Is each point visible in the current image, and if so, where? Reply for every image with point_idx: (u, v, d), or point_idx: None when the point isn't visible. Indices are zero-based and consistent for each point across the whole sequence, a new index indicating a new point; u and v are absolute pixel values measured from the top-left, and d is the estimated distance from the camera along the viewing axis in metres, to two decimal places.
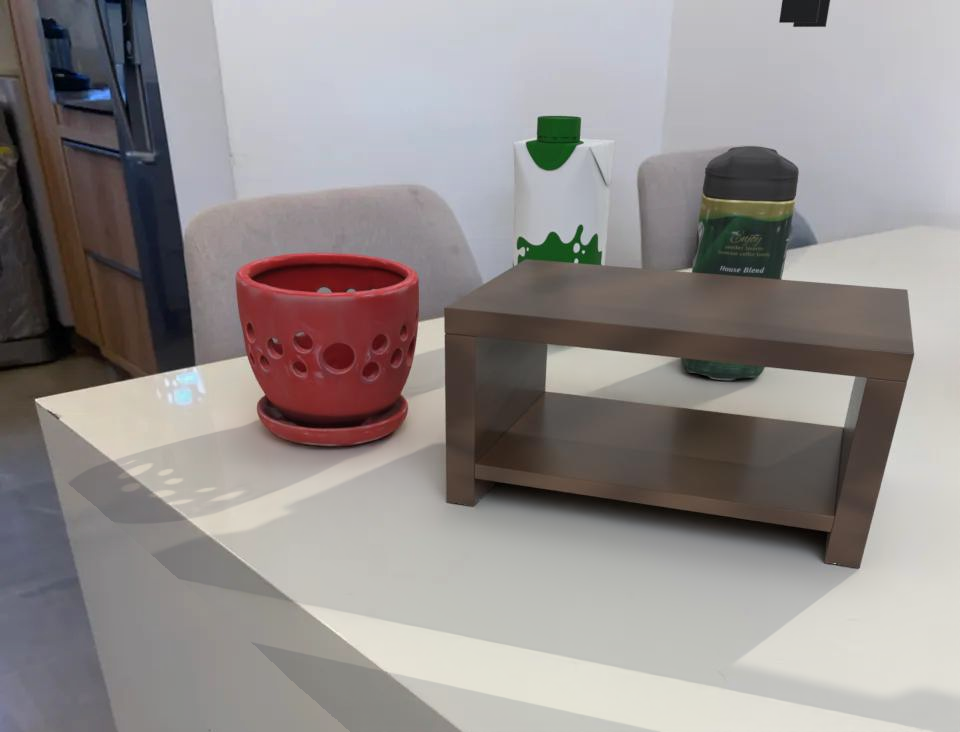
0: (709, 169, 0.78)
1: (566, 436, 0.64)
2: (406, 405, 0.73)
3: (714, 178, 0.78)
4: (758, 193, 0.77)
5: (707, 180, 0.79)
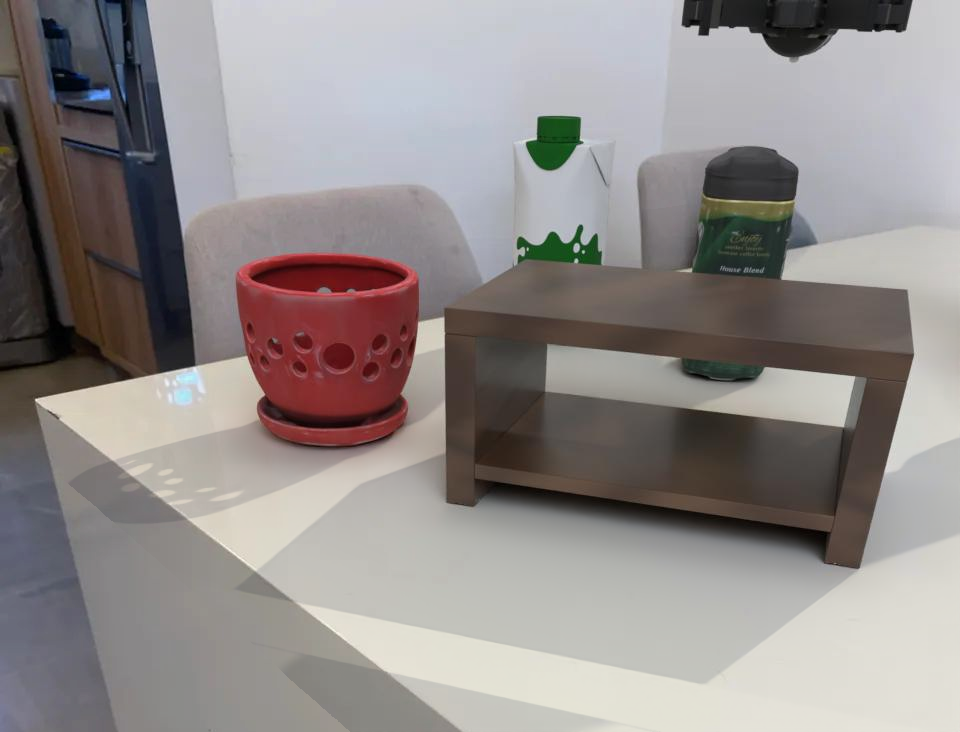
0: (709, 169, 0.78)
1: (566, 436, 0.64)
2: (406, 405, 0.73)
3: (714, 178, 0.78)
4: (758, 193, 0.77)
5: (707, 180, 0.79)
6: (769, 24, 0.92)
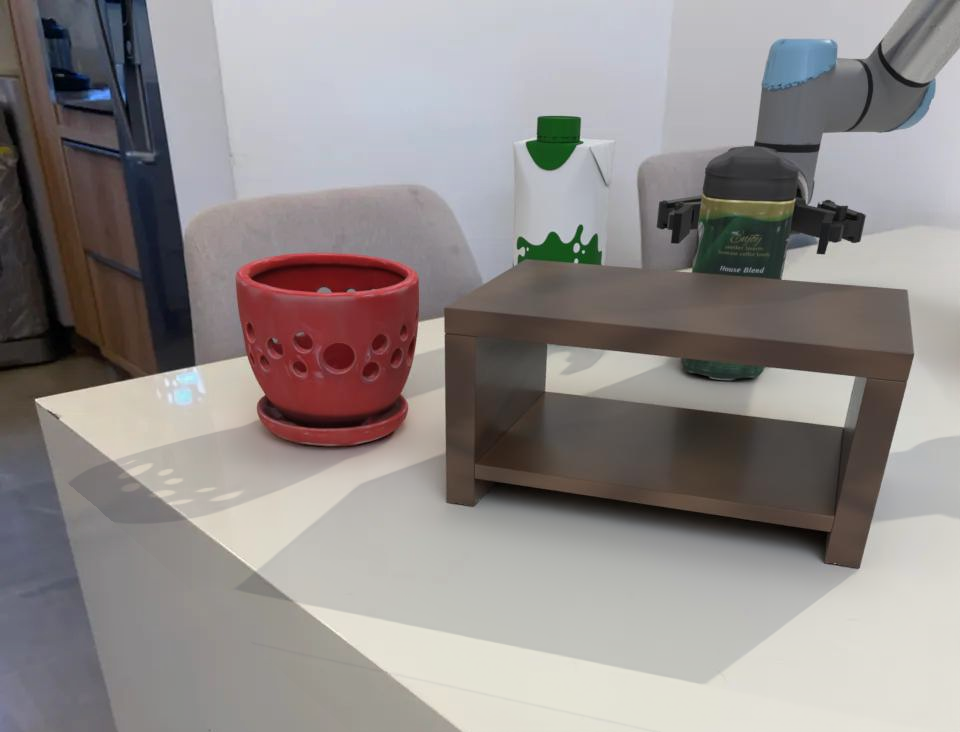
0: (709, 169, 0.78)
1: (566, 436, 0.64)
2: (406, 405, 0.73)
3: (714, 178, 0.78)
4: (758, 193, 0.77)
5: (707, 180, 0.79)
6: None
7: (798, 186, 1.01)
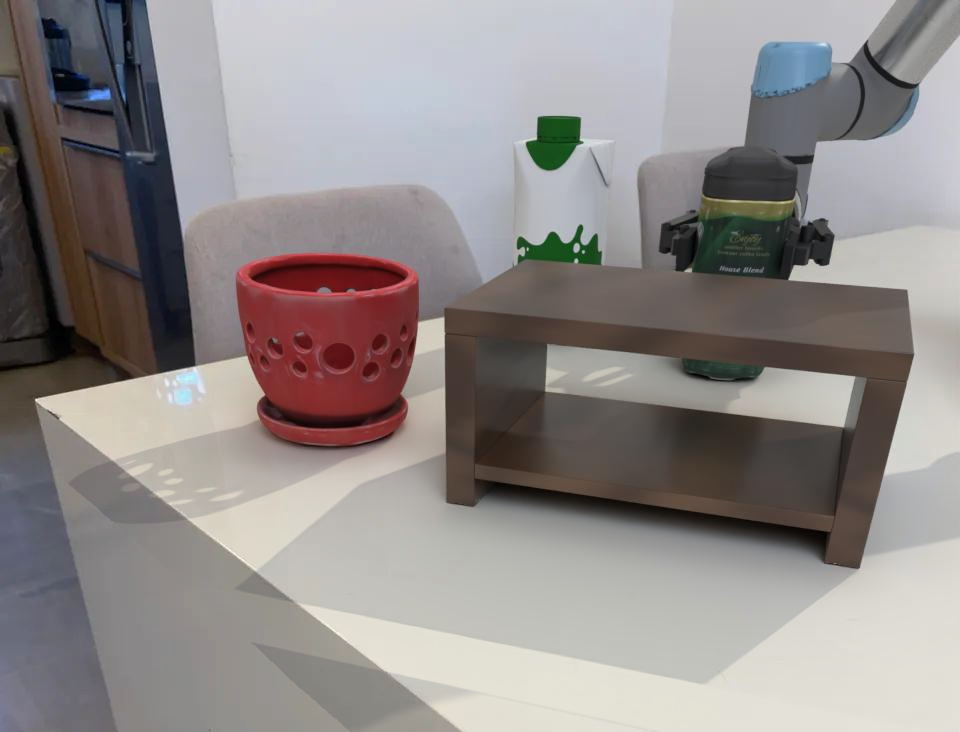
0: (708, 169, 0.78)
1: (566, 436, 0.64)
2: (406, 405, 0.73)
3: (713, 178, 0.78)
4: (758, 193, 0.77)
5: (706, 180, 0.79)
6: None
7: None
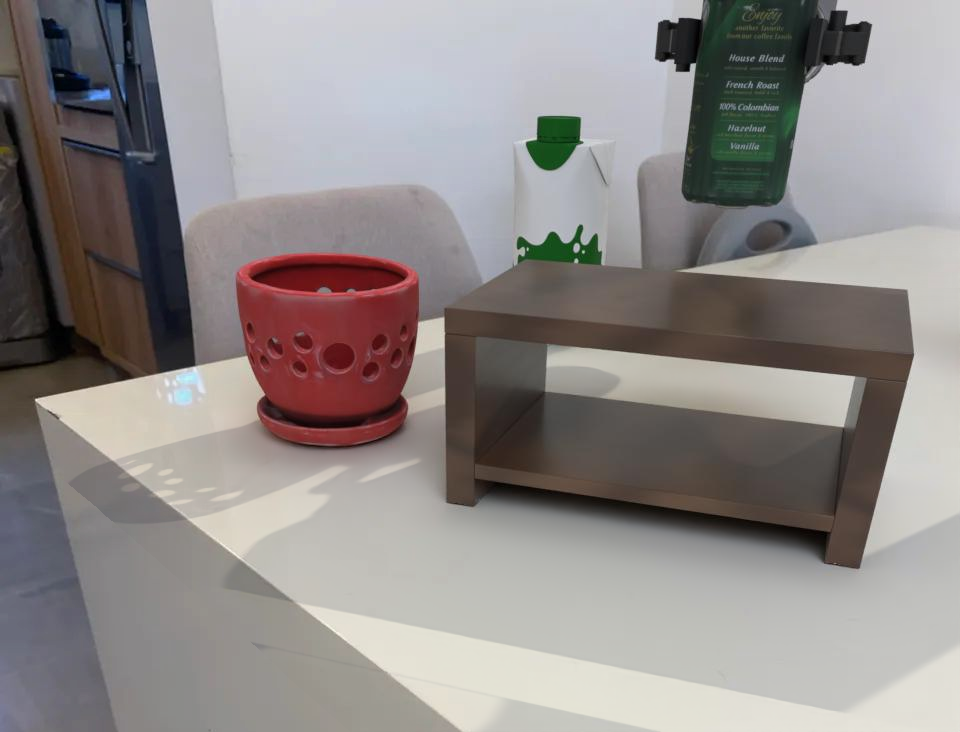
0: None
1: (566, 436, 0.64)
2: (406, 405, 0.73)
3: None
4: None
5: None
6: None
7: None
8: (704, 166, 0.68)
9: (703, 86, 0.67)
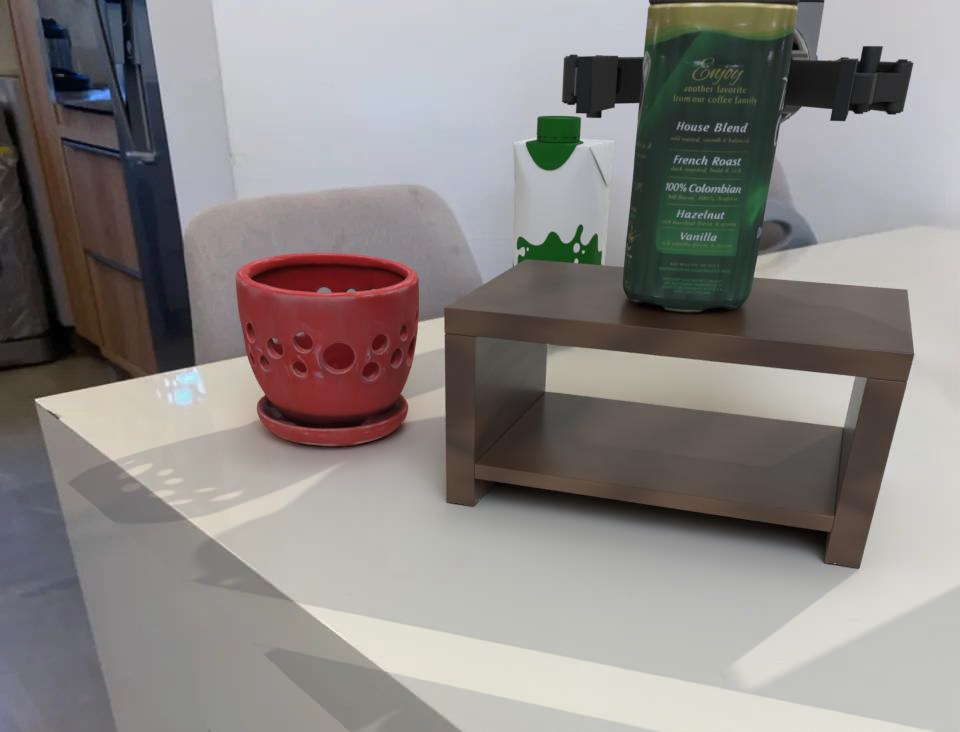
0: None
1: (566, 436, 0.64)
2: (406, 405, 0.73)
3: None
4: None
5: None
6: None
7: (795, 39, 0.62)
8: (647, 260, 0.54)
9: (644, 160, 0.52)
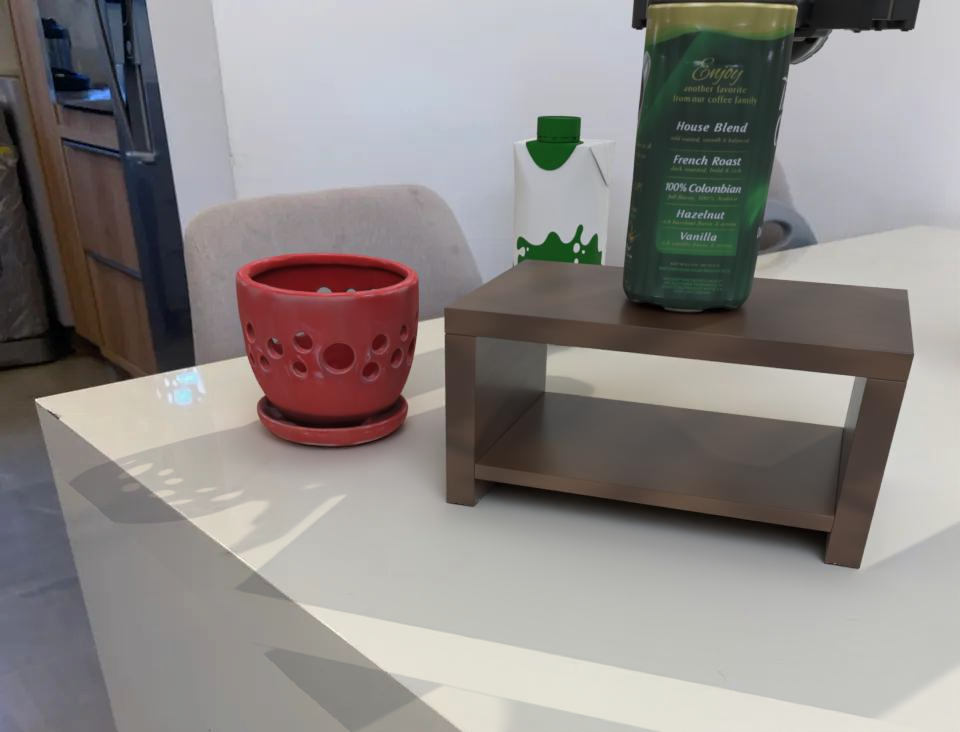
0: None
1: (566, 436, 0.64)
2: (406, 405, 0.73)
3: None
4: None
5: None
6: None
7: None
8: (647, 260, 0.54)
9: (644, 160, 0.52)
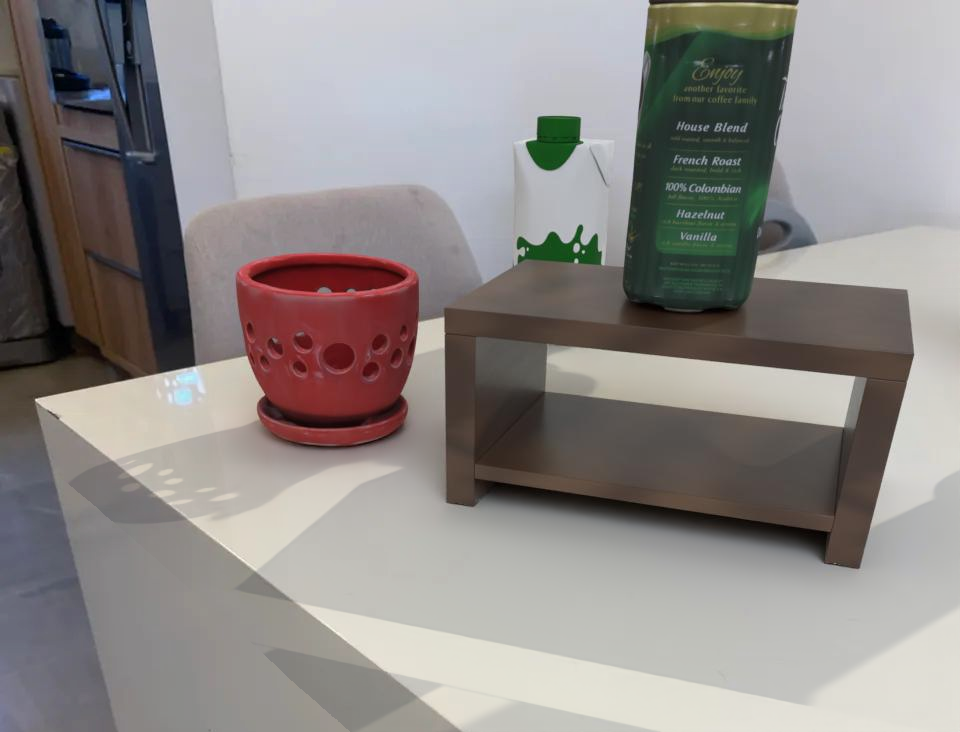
0: None
1: (566, 436, 0.64)
2: (406, 405, 0.73)
3: None
4: None
5: None
6: None
7: None
8: (647, 260, 0.54)
9: (644, 160, 0.52)
